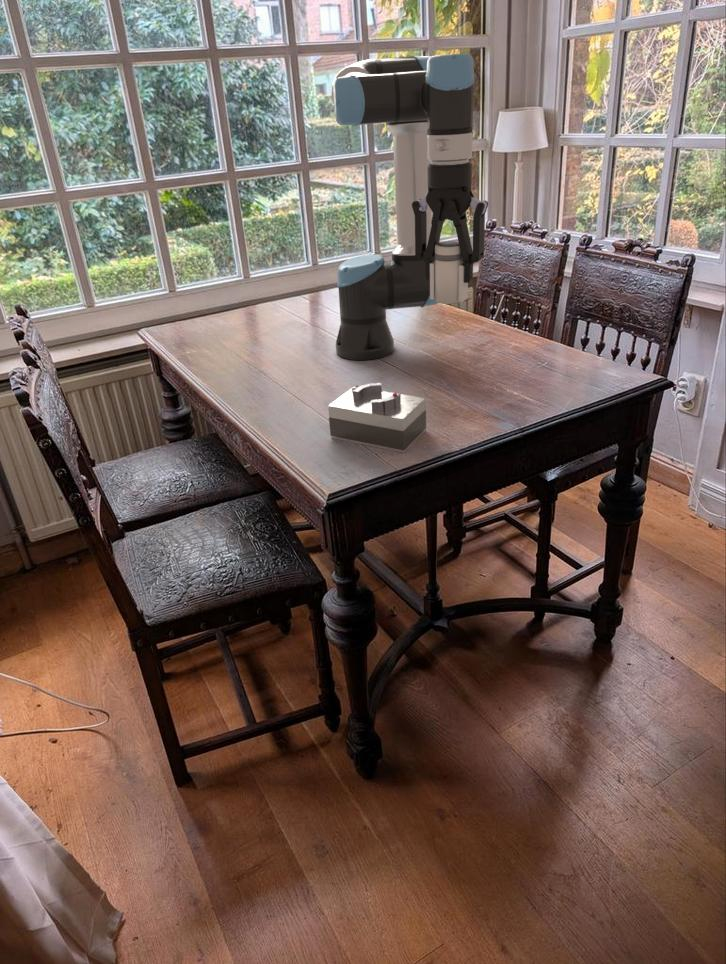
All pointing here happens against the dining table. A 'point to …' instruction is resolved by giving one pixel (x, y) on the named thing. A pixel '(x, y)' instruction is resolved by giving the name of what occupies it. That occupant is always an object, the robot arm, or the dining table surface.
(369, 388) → the two-tone block with arcs
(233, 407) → the dining table surface
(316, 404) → the dining table surface
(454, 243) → the lens
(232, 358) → the dining table surface
